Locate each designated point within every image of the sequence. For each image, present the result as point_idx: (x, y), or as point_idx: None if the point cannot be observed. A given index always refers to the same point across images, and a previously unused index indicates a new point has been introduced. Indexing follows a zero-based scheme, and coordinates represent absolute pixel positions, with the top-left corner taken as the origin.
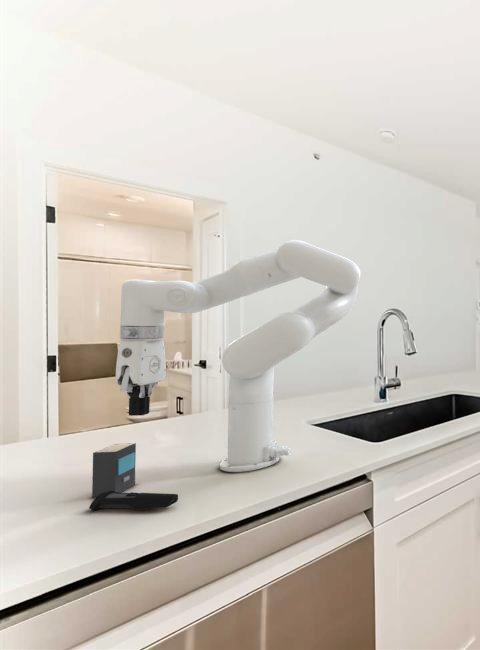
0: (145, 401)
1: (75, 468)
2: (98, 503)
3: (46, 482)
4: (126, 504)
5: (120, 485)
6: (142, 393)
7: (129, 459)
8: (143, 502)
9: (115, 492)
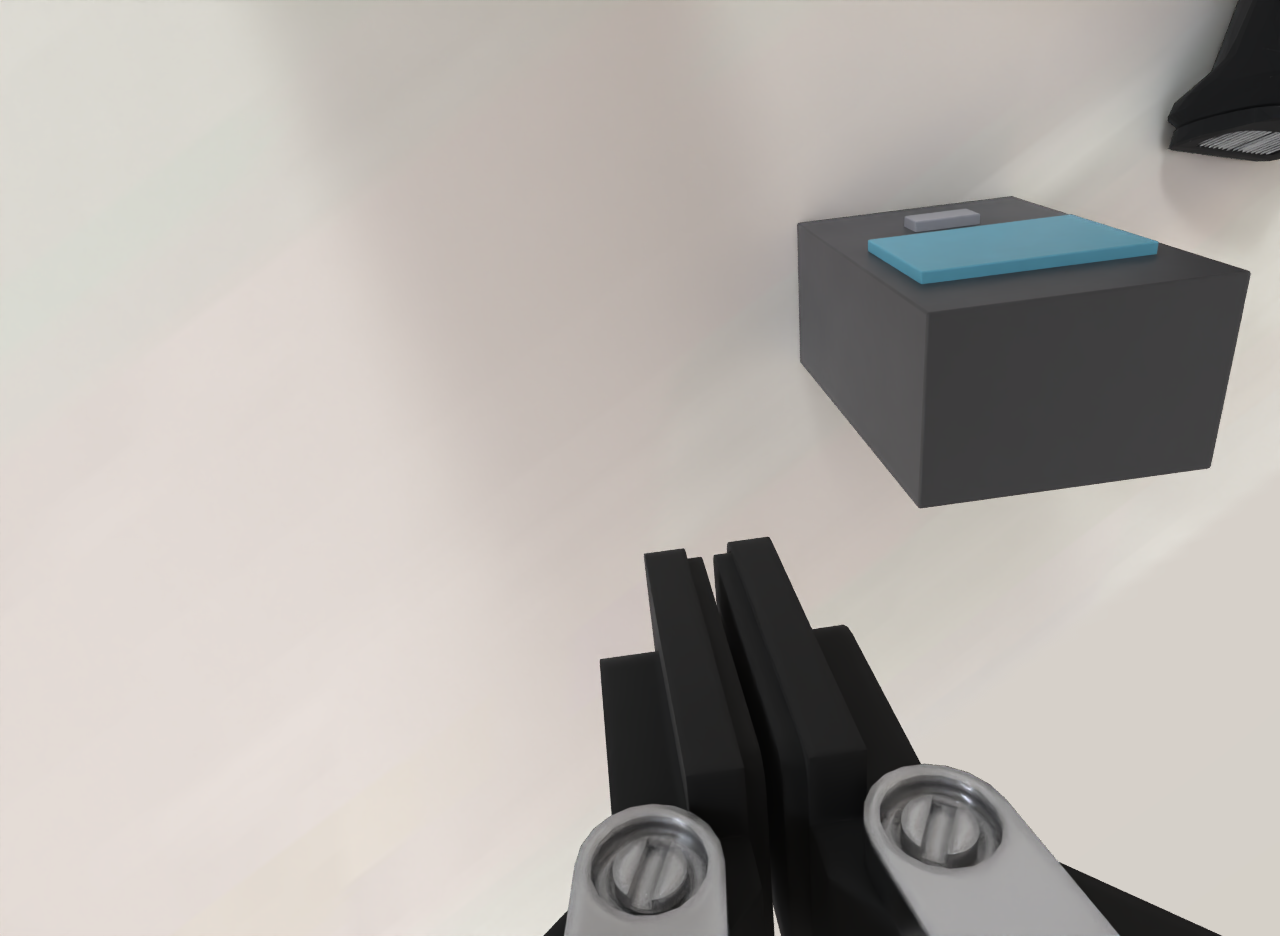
0: (824, 686)
1: (434, 842)
2: None
3: None
4: None
5: (983, 212)
6: (989, 863)
7: (986, 249)
8: None
9: (1278, 48)
